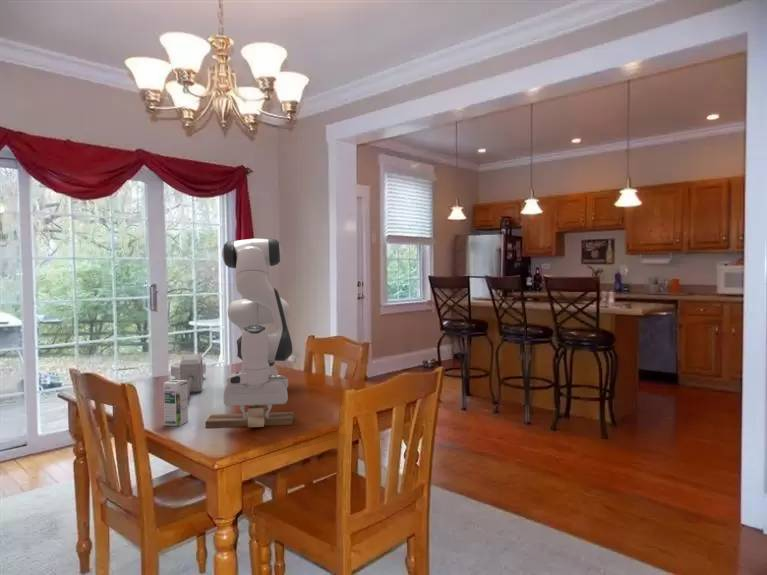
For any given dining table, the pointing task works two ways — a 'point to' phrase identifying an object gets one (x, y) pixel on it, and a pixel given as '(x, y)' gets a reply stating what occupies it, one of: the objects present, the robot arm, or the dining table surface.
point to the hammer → (192, 372)
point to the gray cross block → (176, 370)
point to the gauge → (256, 416)
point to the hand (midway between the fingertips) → (256, 417)
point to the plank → (239, 420)
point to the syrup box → (175, 402)
